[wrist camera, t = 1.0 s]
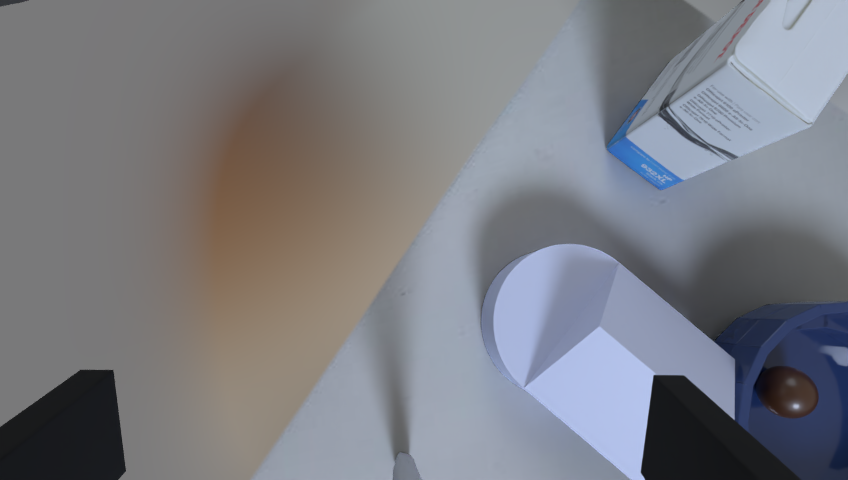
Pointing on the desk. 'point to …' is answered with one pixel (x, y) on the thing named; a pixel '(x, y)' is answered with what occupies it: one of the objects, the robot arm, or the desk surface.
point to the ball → (787, 392)
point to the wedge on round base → (596, 346)
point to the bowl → (810, 353)
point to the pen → (405, 468)
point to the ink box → (737, 88)
